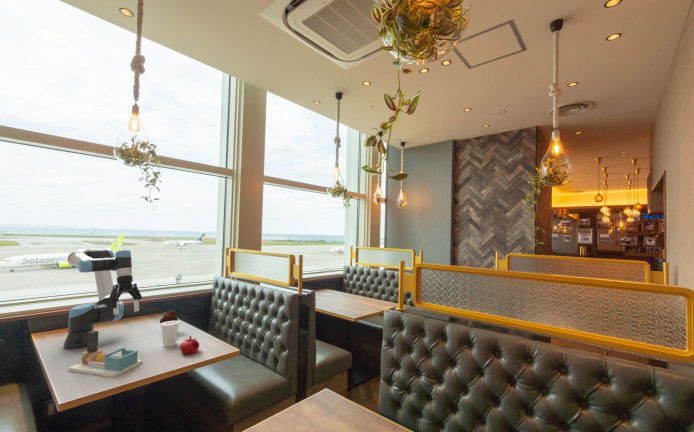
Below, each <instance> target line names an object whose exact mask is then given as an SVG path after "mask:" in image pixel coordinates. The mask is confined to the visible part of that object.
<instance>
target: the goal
mask: <svg viewBox="0 0 694 432" xmlns="http://www.w3.org/2000/svg"><path fill="white" fill-rule="evenodd" d="M138 351H139V350H136V349H135V350H134V349H127V348H126V346H123V347H120V348H118V349H115V350H113V351H110V352H109V353H106V354H105V363H104V369H106V370H114V371H121V370H123V369H125V368H127V367H129V366H131V365H133V364H135V363H137V360H138V356H139V355H138V354H139V352H138ZM119 352H121V357H120V358H119V357H111V356H110V355H112V354H113V355H116V354H117V353H119Z"/></svg>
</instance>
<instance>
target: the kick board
mask: <svg viewBox="0 0 694 432" xmlns="http://www.w3.org/2000/svg"><path fill="white" fill-rule="evenodd" d="M110 356H111V357H119V358H120V357H121V356H122V354H121V355H120V354H119V355H118V354H112V355H110ZM142 363H143V359H137V363H135V364H133V365H131V366H129V367H127V368H125V369H123V370H121V371H114V370H106V369H104V363H102V362H94V361H89V362H88V364H84V363H81V362H79V363H78V364H75V365H72V366H70V367H68V372H73V373H74V372H75V373H80V374H81V373H82V374H87V373H88V374H87V375H94V374H96V375H95V376H100V375H102V376H101V377H106V378H107V377H108V378H109V377H110V378H114V377H117V376H119V375H121V374H123V373H124V372H127V371H129V370H131V369H134V368H136V367H137V366H139V365H141V364H142Z"/></svg>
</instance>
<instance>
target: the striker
mask: <svg viewBox="0 0 694 432" xmlns="http://www.w3.org/2000/svg"><path fill="white" fill-rule="evenodd" d="M98 347H99V330H94V331H91V332H88V342H87V346H86V348H87V349H86V351H84V352H81V357H80V358H81V359H80V361H81V362H80V363H84V364H88V362H89V361H94V362H96V357H97V356H98V355H99V354H101V353H104V352H103V351H104V350H103V349H98Z"/></svg>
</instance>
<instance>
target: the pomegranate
mask: <svg viewBox="0 0 694 432" xmlns="http://www.w3.org/2000/svg"><path fill="white" fill-rule="evenodd" d="M199 348H200V342H198V337H197V338H196V337H195V338H193V337H192V335H189V337H188V338H186V339H183V341H182V342H181V343H180V347H179V349H180V352H181V354H183V355H193V354H195V353H196V352H197V351H198V350H199Z"/></svg>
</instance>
